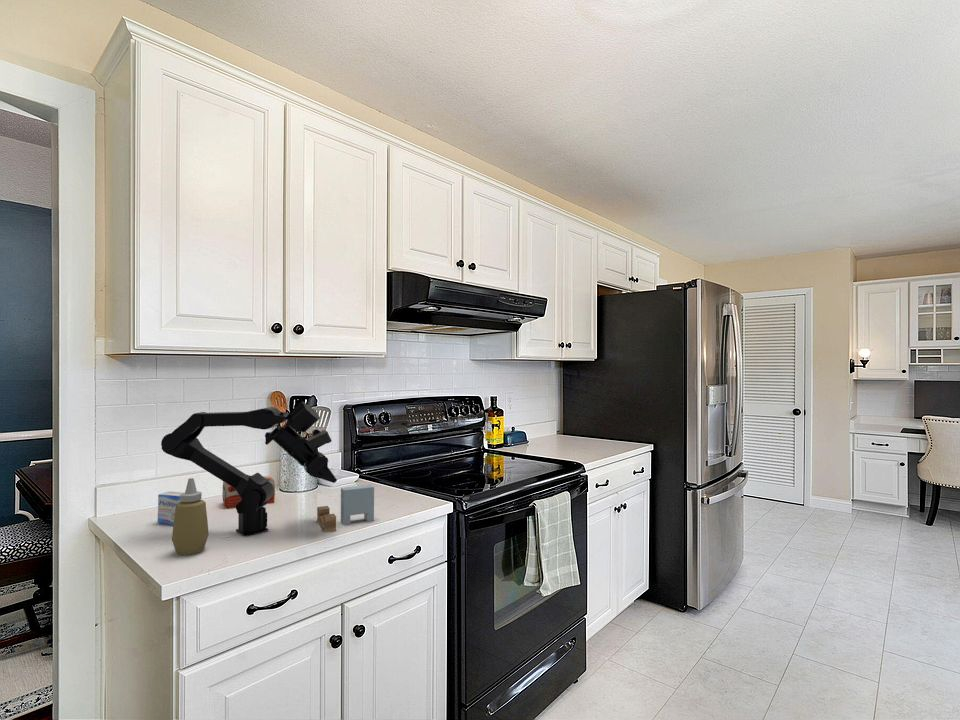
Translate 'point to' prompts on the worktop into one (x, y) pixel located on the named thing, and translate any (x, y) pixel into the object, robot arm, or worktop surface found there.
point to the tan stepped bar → (326, 519)
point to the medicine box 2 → (232, 496)
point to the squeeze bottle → (190, 522)
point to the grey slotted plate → (357, 502)
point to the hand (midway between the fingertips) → (332, 478)
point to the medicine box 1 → (167, 507)
